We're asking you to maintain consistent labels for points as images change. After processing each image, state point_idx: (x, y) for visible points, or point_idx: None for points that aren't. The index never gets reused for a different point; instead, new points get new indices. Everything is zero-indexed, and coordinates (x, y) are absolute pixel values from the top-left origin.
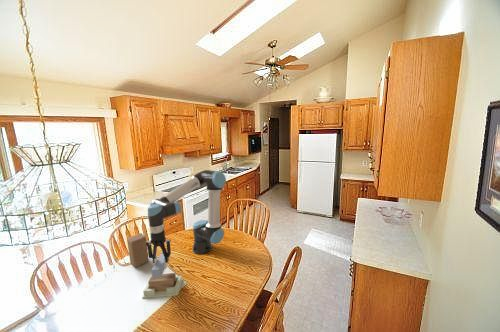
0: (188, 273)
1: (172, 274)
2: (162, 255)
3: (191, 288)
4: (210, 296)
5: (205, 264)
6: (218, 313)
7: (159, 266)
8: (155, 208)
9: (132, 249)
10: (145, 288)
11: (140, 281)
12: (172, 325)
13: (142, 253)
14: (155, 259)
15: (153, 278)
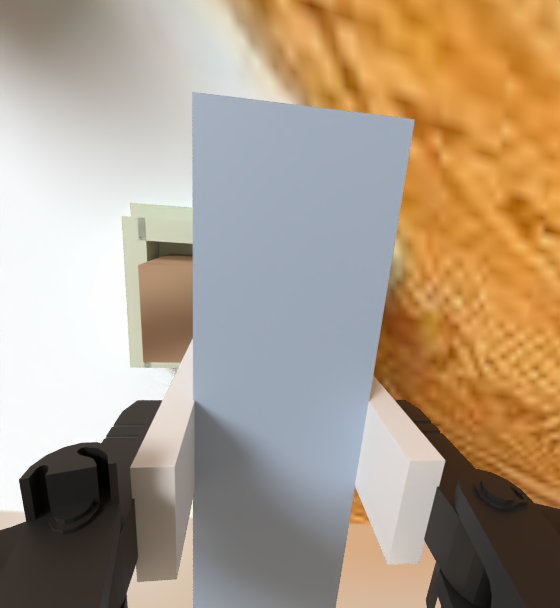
0: (413, 153)
1: None
2: (266, 238)
3: (434, 318)
4: (526, 389)
5: (553, 52)
6: (540, 478)
7: (308, 595)
8: None
9: None
10: (135, 342)
11: (28, 174)
12: (356, 516)
13: None
14: (176, 567)
15: (176, 324)
